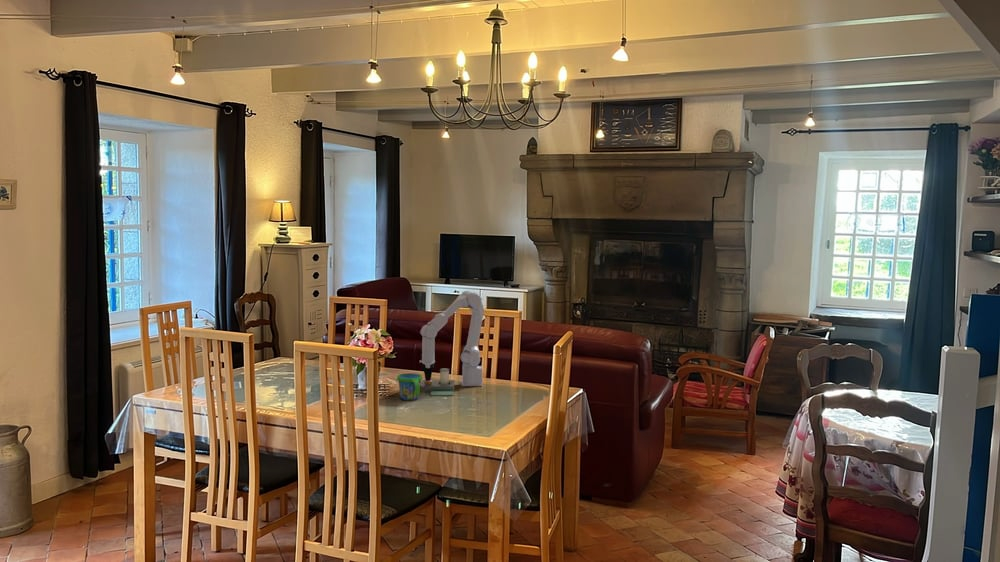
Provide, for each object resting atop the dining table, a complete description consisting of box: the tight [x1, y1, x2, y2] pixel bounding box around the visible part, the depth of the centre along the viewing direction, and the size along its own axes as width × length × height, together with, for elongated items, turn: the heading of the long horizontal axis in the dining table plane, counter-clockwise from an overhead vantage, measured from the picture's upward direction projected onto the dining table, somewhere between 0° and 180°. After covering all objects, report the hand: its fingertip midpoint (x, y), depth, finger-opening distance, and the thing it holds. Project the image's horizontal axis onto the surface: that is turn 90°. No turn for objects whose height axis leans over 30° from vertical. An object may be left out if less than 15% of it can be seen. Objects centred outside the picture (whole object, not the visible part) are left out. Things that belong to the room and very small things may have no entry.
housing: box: [420, 379, 455, 393], centre depth 338 cm, size 15×12×2 cm
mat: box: [430, 391, 454, 397], centre depth 328 cm, size 10×6×1 cm, turn 94°
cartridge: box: [439, 367, 450, 384], centre depth 338 cm, size 4×4×9 cm
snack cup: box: [396, 373, 423, 401], centre depth 318 cm, size 16×10×10 cm
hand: (428, 380), depth 338 cm, fingers closed, pressing on plunger
